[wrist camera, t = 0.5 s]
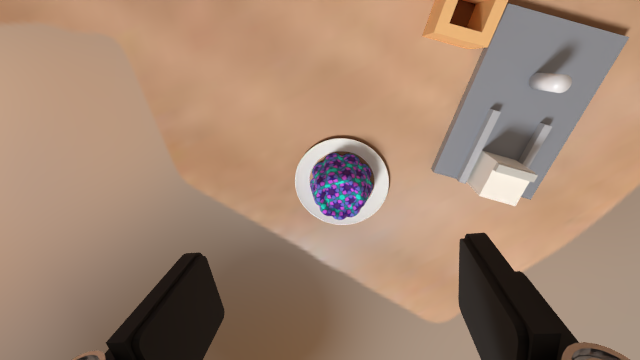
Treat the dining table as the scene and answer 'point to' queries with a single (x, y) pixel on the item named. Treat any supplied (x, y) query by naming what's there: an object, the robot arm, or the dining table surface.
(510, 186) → the cream square block
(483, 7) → the orange hollow cube
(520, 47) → the base
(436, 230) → the dining table surface
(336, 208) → the pudding
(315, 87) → the dining table surface
